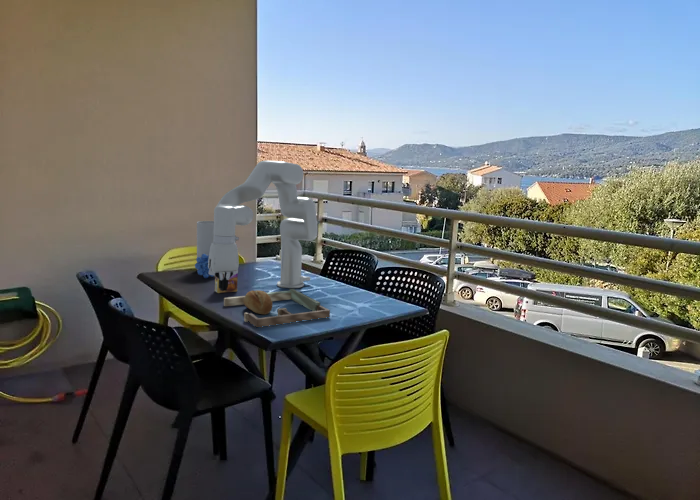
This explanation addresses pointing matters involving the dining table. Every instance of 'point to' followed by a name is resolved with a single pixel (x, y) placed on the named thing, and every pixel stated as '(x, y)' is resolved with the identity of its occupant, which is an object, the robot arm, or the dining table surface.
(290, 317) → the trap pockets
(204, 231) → the cylinder vase
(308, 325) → the dining table surface
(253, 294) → the bread roll
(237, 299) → the frame
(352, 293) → the dining table surface
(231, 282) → the candy box
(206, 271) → the grapes
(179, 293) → the dining table surface
